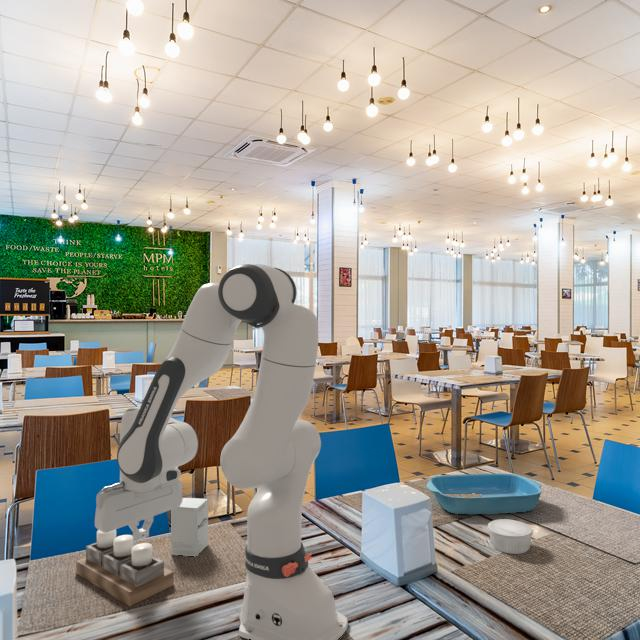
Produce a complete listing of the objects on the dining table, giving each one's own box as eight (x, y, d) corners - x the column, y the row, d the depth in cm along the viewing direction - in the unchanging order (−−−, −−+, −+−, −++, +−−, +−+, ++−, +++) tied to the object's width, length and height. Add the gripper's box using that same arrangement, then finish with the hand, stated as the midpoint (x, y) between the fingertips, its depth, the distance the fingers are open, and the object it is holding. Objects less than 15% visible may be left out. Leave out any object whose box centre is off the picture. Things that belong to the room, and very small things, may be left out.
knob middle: (137, 551, 120) (137, 537, 120) (120, 558, 117) (119, 544, 116) (127, 546, 123) (126, 533, 123) (109, 553, 119) (109, 539, 119)
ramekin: (488, 553, 132) (488, 533, 132) (487, 535, 143) (487, 516, 143) (535, 559, 129) (534, 538, 129) (530, 540, 139) (530, 521, 139)
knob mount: (173, 585, 117) (173, 558, 117) (129, 606, 108) (129, 578, 108) (118, 556, 131) (118, 533, 131) (76, 573, 122) (76, 548, 122)
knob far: (119, 543, 125) (119, 529, 125) (102, 549, 121) (102, 536, 121) (110, 538, 127) (110, 525, 127) (93, 544, 124) (93, 531, 124)
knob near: (156, 560, 115) (156, 546, 115) (138, 568, 112) (138, 553, 112) (145, 555, 118) (144, 541, 118) (127, 562, 115) (127, 548, 115)
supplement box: (197, 557, 130) (196, 508, 130) (170, 555, 132) (170, 506, 132) (209, 545, 137) (208, 498, 137) (183, 543, 139) (183, 496, 139)
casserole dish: (438, 520, 154) (438, 496, 154) (418, 495, 176) (418, 474, 176) (556, 516, 156) (556, 493, 156) (522, 492, 179) (522, 471, 179)
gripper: (104, 492, 105) (104, 559, 105) (186, 469, 121) (186, 527, 121) (88, 486, 109) (88, 550, 109) (170, 464, 125) (170, 520, 125)
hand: (140, 538), depth 115 cm, fingers closed
